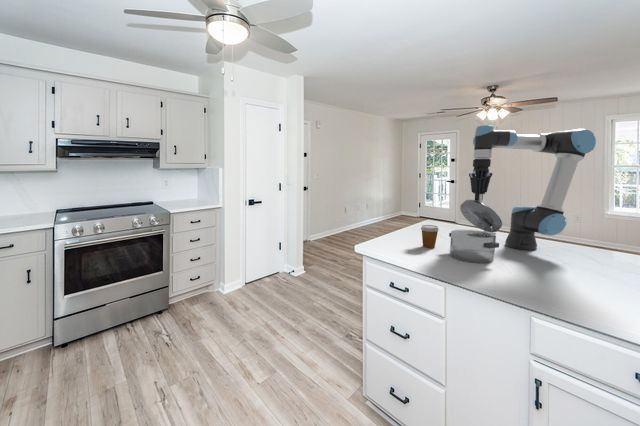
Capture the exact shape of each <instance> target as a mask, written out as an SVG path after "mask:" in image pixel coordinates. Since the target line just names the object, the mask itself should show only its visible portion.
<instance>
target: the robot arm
mask: <svg viewBox="0 0 640 426" xmlns="http://www.w3.org/2000/svg"><path fill="white" fill-rule="evenodd" d="M596 143H597V140H596V136H595V134H594V132H592V130H590V129H587V128H576V129H570V130H560V131H554V132H547V133H536V134H518V133H517V132H516V130H512V129H511V130H510V129H506V130H505V129H503V130H502V129H501V130H500V129H497V130H496V129H495V127H494V125H492V124H487V125H486V124H483V125H482V124H481V125H477V127H476V128H475V133H474V137H473V141H472V144H473V146H474V148H473V161H472V167H473V169H472V170H473V171H472V172H471V173H468V177H469V180H470V181H469V182H470V189H471V193H473V194H474V200H475V201H478V202H481V203H483V198H484V195H486V193H487V192H488V189H489V185H490V182H491V178H492V176H493V172H490V169H489V168H490V167H491V164H492V163H491V162H492V160H491V158H492V150H493V149H508V150H509V149H512V150H531V151H532V152H537V153H546V154H554V156H555V157H556V161H555V164H554V167H553V169H552V173H551V176H550V178H549V181H548V183H547V186H546V189H545V191H544V195H543V197H542V201H541V203H540V204H538V205H536V206H514V207H513V208H512V210H511V216H510V217H511V218H510V227H509V228H510V229H509V232H508V235H507V237H506V239H505V242H504V245H505V246H506V247H508V248H511V249H516V250H524V251H533V250H537V249H538V243H537V239H536V238H537V237H536V235H535V234H536V233H537V234H540V235H543V236H544V235H545V236H550V237H551V236H556V235H559V234H561V233H562V232H563V230H564V229H565V228H566V226H567V220H566V219H567V218H566V216H565V215H564V213H565V211H564V209H563V208H562V207H563V205H564V202H565V200H566V197H567V195H568V191H569V188H570V186H571V184H572V180H573V178H574V176H575V172H576V169H577V168H578V163H579V162H580V161H582V160H584V159H585V156H586V154H589V153H590V152H592V151H593V150H594V149H595V148H596Z"/></svg>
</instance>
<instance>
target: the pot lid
mask: <svg viewBox="0 0 640 426" xmlns="http://www.w3.org/2000/svg"><path fill="white" fill-rule="evenodd" d="M459 209H460V212H461V214H462V215H463V217H464V219H466V220H467V221H468V222H469V223H470V224H472V225H473V226H475V227H476V228H478V229H480V230H481V231H487V232H493V233H497V232H498V231H500V229H501V228H502V226H503V221H502V219H501V218H500V216H499V215H498V214H497V212H496V211H494V209H492V208H491V207H490V206H488V205H486V204H485V203H483V202H482V203H481V202H478V201H475V199H466V200H464V201H463V202H462V203H461V204H460V206H459Z"/></svg>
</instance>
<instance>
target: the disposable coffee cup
mask: <svg viewBox="0 0 640 426" xmlns="http://www.w3.org/2000/svg"><path fill="white" fill-rule="evenodd" d="M420 229H421V237H422V238H421V239H422V240H421V241H422V247H423V249H424V248H425V249H431V250H432V249H435V247H436V243H437V237H438V232H439V230H440V228H439V226H437V225H434V224H433V225H432V224H423V225H421V227H420Z"/></svg>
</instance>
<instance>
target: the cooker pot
mask: <svg viewBox="0 0 640 426" xmlns="http://www.w3.org/2000/svg"><path fill="white" fill-rule="evenodd" d="M496 234H497V232H487V231H484V230H479V229H463V228H462V229H454V230H451V231H450V232H449V233H448V237H449V238H450V241H449V242H450V244H449V256H450V257H451V258H452V259H455V260H456V261H461V262H466V263H470V264H471V263H472V264H490V263H492V262H494V260H495V252H496V251H495V250H496V248H500V242H497V241H496V240H497V235H496Z"/></svg>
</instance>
